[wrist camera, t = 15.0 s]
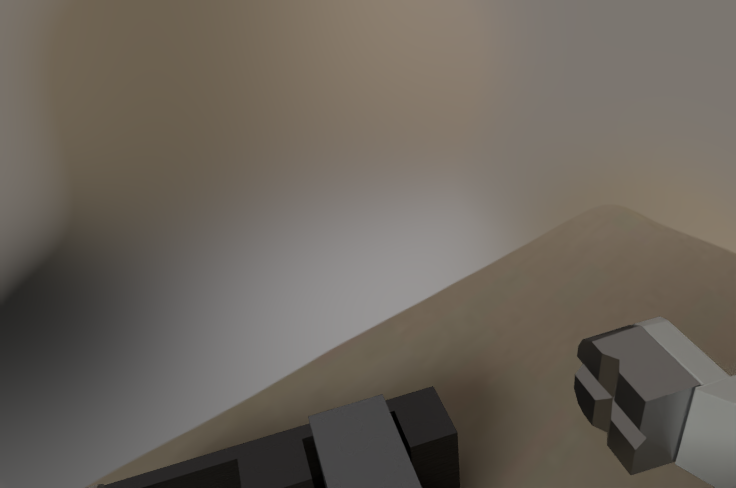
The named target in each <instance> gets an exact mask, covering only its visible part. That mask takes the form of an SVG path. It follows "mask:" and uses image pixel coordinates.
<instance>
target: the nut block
mask: <svg viewBox="0 0 736 488" xmlns="http://www.w3.org/2000/svg"><path fill="white" fill-rule="evenodd" d="M308 418H309V422H310V426H311V431H312V435H313V439H314V443H315V447H316V451H317V456H318V460H319V464H320V468H321V472H322V476H323V480H324V485H325V488H422V487H421V485H420V482H419V480H418V477H417V475H416V473H415V470H414V468H413V466H412V463H411V461H410V458H409V456H408V454H407V451H406V449H405V447H404V444H403V442H402V440H401V437H400V435H399V432H398V430H397V428H396V425H395V423H394V421H393V418H392V416H391V414H390V411H389V409H388V406H387V404H386V402H385V399H384V397H383V395H382V394H381V395H378V396H375V397H371V398H368V399H365V400H361V401H358V402H355V403H351V404H348V405H345V406H341V407H338V408H335V409H331V410H328V411H325V412H321V413H318V414H315V415H311V416H308Z"/></svg>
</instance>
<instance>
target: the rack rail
mask: <svg viewBox="0 0 736 488" xmlns="http://www.w3.org/2000/svg"><path fill="white" fill-rule="evenodd" d="M385 402H386V404H387V406H388V409H389V411H390V414H391V416H392V418H393V421H394V423H395V425H396V428H397V430H398V432H399V435H400V437H401V440H402V442H403V444H404V447H405V449H406V451H407V454H408V456H409V458H410V461H411V463H412V466H413V468H414V470H415V473H416V475H417V477H418V480H419V482H420V485H421V487H422V488H460V480H459V458H458V437H457V431H456V429H455V427H454V425H453V423H452V421H451V419H450V418H449V416H448V414H447V412H446V410H445V408H444V406H443V404H442V402H441V400H440V398H439V396H438V395H437V393H436V391H435V389H434V387H433V386H432V387H429V388H426V389H422V390H419V391H416V392H412V393H409V394H406V395H402V396H399V397H396V398H392V399H389V400H386V401H385ZM104 486H105V487H106V488H325V485H324V480H323V476H322V472H321V468H320V464H319V460H318V456H317V451H316V447H315V443H314V439H313V435H312V431H311V426H310V424H306V425H303V426H300V427H296V428H293V429H290V430H286V431H283V432H280V433H276V434H273V435H270V436H266V437H263V438H260V439H257V440H253V441H250V442H247V443H243V444H240V445H237V446H233V447H230V448H227V449H223V450H220V451H217V452H213V453H210V454H207V455H204V456H200V457H197V458H194V459H190V460H187V461H184V462H180V463H177V464H174V465H170V466H167V467H164V468H160V469H157V470H154V471H150V472H147V473H144V474H141V475H137V476H134V477H131V478H127V479H124V480H121V481H117V482H114V483H111V484H107V485H104Z"/></svg>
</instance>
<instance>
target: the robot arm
mask: <svg viewBox="0 0 736 488" xmlns="http://www.w3.org/2000/svg"><path fill="white" fill-rule="evenodd" d="M577 357H578V358H579V359H580V360H581V362H582V363H583V365H582V366H581V367H580V369H579V370H578V371H577V373H576V374H575V383H574V389H575V393H576V397H577V401H578V404H579V406H580V408H581V410H582V412H583V414H584V415H585V416H586V418H587V419H588V420H589V422H590V423H591V425H593V426H595V427H597V428H599V429H601V430H603V431H605V432H607V446H608V447H609V448H610V449H611V451H612V452H613V453H614V455H615V456H616V457H617V458H618V460H619V461H620V462H621V464H622V465H623V466H624V467H625V469H626V470H627V471H628V473H629V474H630V475H634V474H637V473H640V472H643V471H646V470H650V469H653V468H656V467H659V466H662V465H666V464H669V463H672V462H675V461H676V463H675V464H676V465H677V466H679V467H681V468H683V469H684V470H686V471H688V472H689V473H691V474H693V475H695V476H696V477H698V478H700V479H702V480H703V481H705V482H707V483H708V484H710V485H712V486H714V487H715V488H736V375H733V376H729V375H728V374H727V373H726V372H725V371H724V370H723V369H721V368H720V367H719V366H718V365H717V364H716V363H715V362H714V361H713V360H711V359H710V358H709V357H708V356H707V355H706V354H705V353H704V352H703V351H701V350H700V349H699V348H698V347H697V346H696V345H695V344H694V343H693V342H692V341H690V340H689V339H688V338H687V337H686V336H685V335H684V334H683V333H682V332H680V331H679V330H678V329H677V328H676V327H675V326H674V325H673V324H672V323H671V322H669V321H668V320H667V319H665V318H662V317H660V316H659V317H656V318H652V319H649V320H646V321H642V322H639V323H636V324H633V325H628V326H625V327H621V328H618V329H615V330H612V331H609V332H605V333H602V334H599V335H596V336H592V337H589V338H586V339H583V340H582V341H581V343H580V344H579V346H578V353H577ZM87 488H106V487H105V486H104V484H98V485H94V486H91V487H87Z"/></svg>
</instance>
